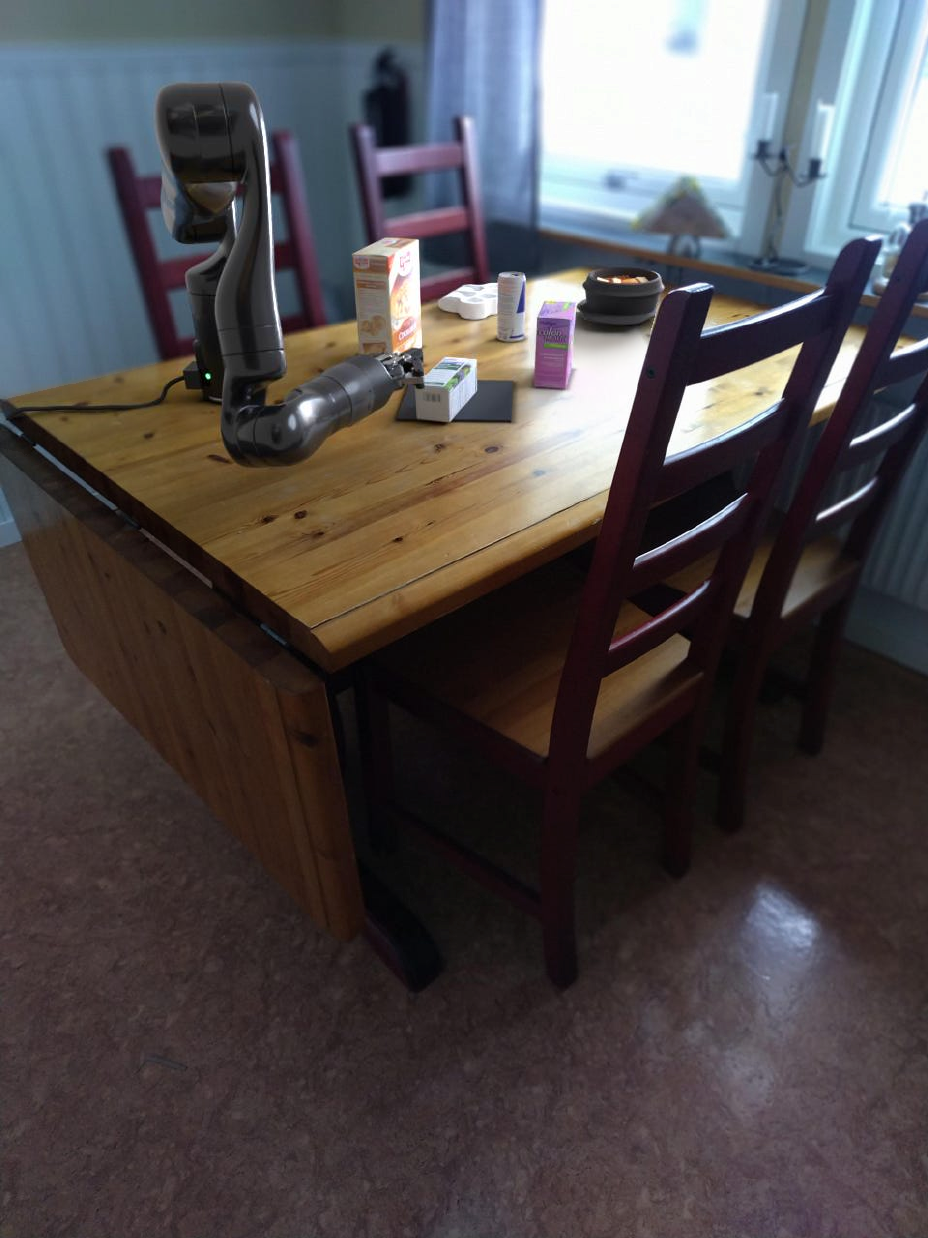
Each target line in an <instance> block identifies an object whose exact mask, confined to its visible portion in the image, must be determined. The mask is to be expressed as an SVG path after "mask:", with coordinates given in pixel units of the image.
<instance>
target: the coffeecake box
mask: <svg viewBox="0 0 928 1238" xmlns="http://www.w3.org/2000/svg"><path fill="white" fill-rule="evenodd" d="M419 241H420V240H419V239H416V238H403V237H387V236H386V237H383V238H381V239H380V240H377V241H376V242H374V243H371V244H370V245H367V246H365V247H363V248H361V249H360V250H358V251H355V252H353V253H351V258H352V259H351V260H352V271H353V274H352V275H353V285H354V286H353V287H354V299H355V300H354V302H355V313H356V325H357V339H358V352H359V354H366V355H368V354H375V353H382V352H386V353H388V355H391V354H393V353H402V352H404V351H406V350H408V349H410V348H412V347H414V348H421V349H422V347H423V343H422V342H423V341H422V340H423V339H422V314H421V284H420V283H421V282H420V280H421V279H420V251H419V250H420V249H419V248H420V247H419V243H420V242H419Z"/></svg>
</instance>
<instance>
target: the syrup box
mask: <svg viewBox="0 0 928 1238" xmlns="http://www.w3.org/2000/svg"><path fill="white" fill-rule="evenodd" d="M477 361H478V360H477V358H465V357H453V356H452V357H451V356H444V357H443V358H441V360H440V361H439V362H438V363H437V364H436V365H435V366H434V367H433V368H432V369H431V370H429V372H427V374H425V375H424V380H425V388H424V389H416V387H415V397H416V414H417V419H421V420H432V421H431V422H442V423H451V422H452V421H451V420H452V419H453V418H454V417H455V416H456V415H457V413H458V412H459V411H460V410H461V409H462V408H463V406H464V405H465V404H466V403H467V402H468V401H469V399H470V398H471V397H472V396H473V395H474V394H475V393H476V391H477V380H478V366H477V365H478V363H477Z"/></svg>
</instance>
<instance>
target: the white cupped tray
mask: <svg viewBox="0 0 928 1238" xmlns="http://www.w3.org/2000/svg"><path fill="white" fill-rule="evenodd" d="M497 294H498V282H491V283H485V284H463V285H462V286H460V287H458V288H457V289H455V290H453V291H451V292H449V293H448V294H447V295H444V296H442V297H441V298H439V299H437V307H438V308H439V309H440V310H442V311H445V312H448V313H454V314H459V315H460V317H461V318H463V319H466V320H472V321H473V320H475V321H476V320H485V319H486V318H487V317H489V316H495V315H496V316H497Z"/></svg>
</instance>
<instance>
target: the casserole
mask: <svg viewBox="0 0 928 1238" xmlns="http://www.w3.org/2000/svg"><path fill="white" fill-rule="evenodd" d="M581 287H582V289H583V290H584V292H585V298H584V299H582V300H580V301H579V302H578V303H577V305H576V310H578V311H579V312H580V313H581V314H582V318H583V319H584V320H586V321H589V322H592V323H596V324H602V325H603V324H605V325H615V326H632V325H633V326H634V325H639V324H641V323H643V322H645V321H647V320H650V319H654V318H656V317H655V313H656V309H657V306H658V304H659V302H660V297H661V293H662V292H663V291H664V290H665V288H666V286H665V284H664V283H663V281H662V276H661V274H659V273H657V272H656V271H653V270H651V269H645V268H639V267H630V266H629V267H628V266H614V267H613V266H612V267H604V268H598V269H595V270H592V271H590V272H588V274H587V276H586V278H585V280H584V281H583V282H582V284H581Z"/></svg>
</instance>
